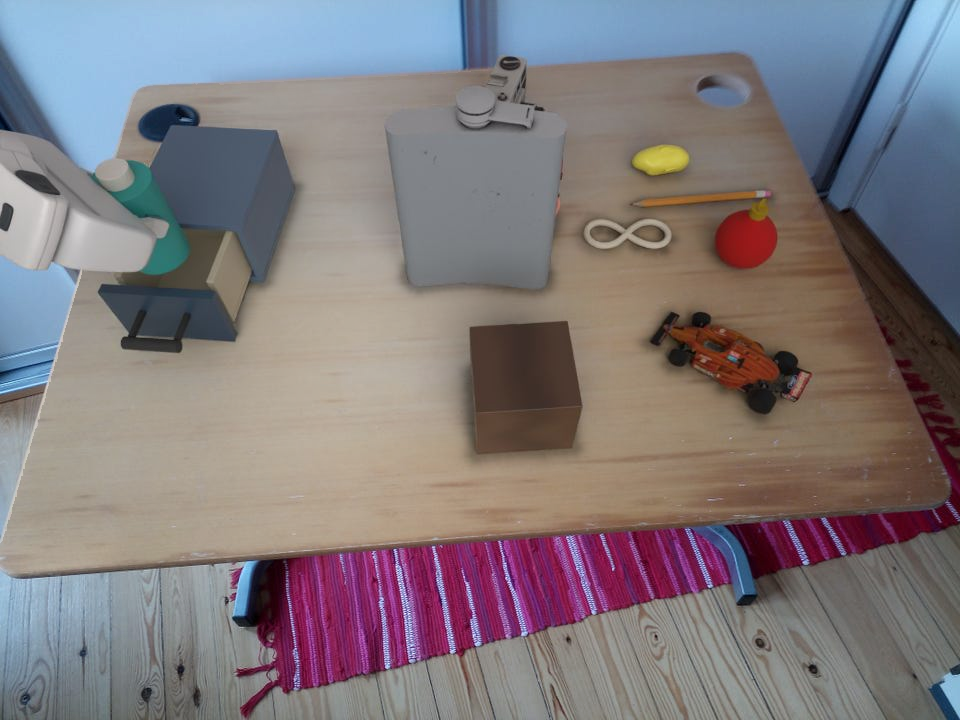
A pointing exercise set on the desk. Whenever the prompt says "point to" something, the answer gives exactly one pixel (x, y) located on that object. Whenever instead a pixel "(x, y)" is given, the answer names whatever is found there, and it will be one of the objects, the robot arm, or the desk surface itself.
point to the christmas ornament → (747, 237)
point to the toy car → (734, 360)
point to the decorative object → (627, 233)
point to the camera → (510, 80)
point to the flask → (476, 190)
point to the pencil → (703, 198)
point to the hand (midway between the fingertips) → (142, 209)
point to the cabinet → (227, 185)
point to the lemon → (661, 159)
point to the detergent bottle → (145, 208)
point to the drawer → (183, 295)
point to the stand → (524, 387)
